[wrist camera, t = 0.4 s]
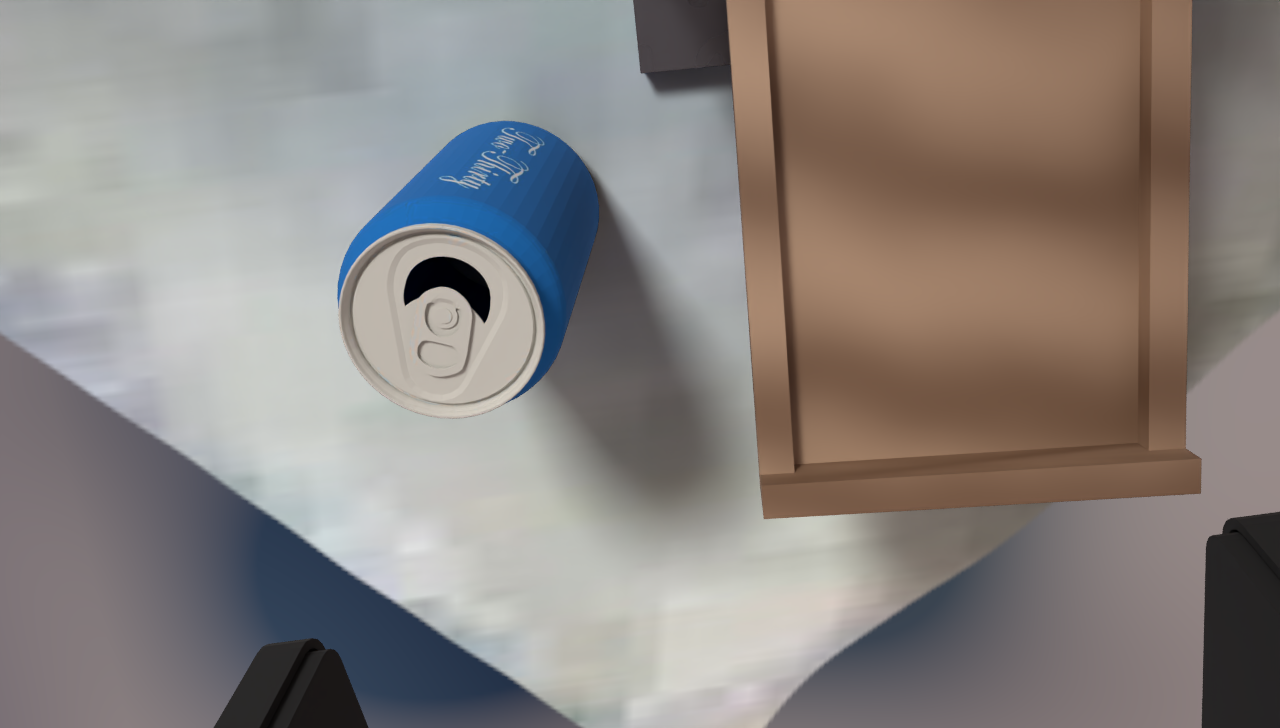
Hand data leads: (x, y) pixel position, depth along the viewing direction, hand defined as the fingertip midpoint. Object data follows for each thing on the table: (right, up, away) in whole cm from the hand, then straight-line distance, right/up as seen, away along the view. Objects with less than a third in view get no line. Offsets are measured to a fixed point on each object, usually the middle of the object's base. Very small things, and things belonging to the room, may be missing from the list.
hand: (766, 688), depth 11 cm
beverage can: (-6, +10, +28) cm, 30 cm away
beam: (+7, +17, +17) cm, 25 cm away
